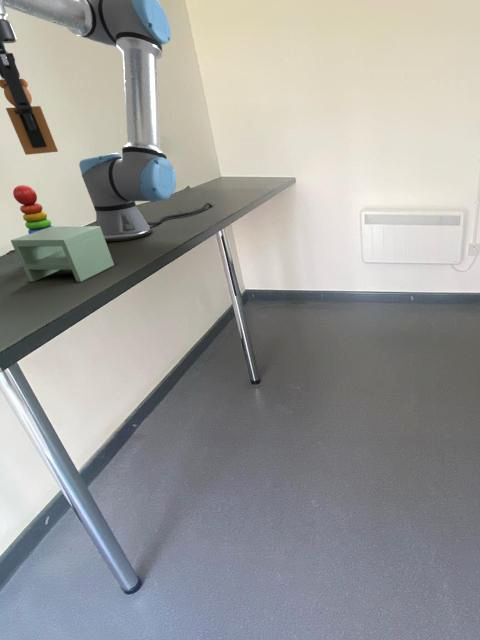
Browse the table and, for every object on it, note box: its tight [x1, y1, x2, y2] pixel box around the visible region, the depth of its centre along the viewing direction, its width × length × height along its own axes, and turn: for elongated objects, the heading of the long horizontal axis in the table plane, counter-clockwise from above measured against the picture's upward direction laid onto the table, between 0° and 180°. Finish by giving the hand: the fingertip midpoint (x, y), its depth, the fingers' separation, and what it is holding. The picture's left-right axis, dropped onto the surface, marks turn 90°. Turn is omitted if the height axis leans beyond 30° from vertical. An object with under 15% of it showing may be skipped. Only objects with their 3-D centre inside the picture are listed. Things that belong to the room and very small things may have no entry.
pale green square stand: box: [10, 225, 115, 283], centre depth 120 cm, size 13×14×10 cm
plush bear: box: [0, 78, 59, 156], centre depth 107 cm, size 6×6×14 cm
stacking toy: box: [12, 184, 55, 234], centre depth 133 cm, size 8×8×19 cm
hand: (39, 146), depth 111 cm, fingers closed on plush bear, 5 cm apart
